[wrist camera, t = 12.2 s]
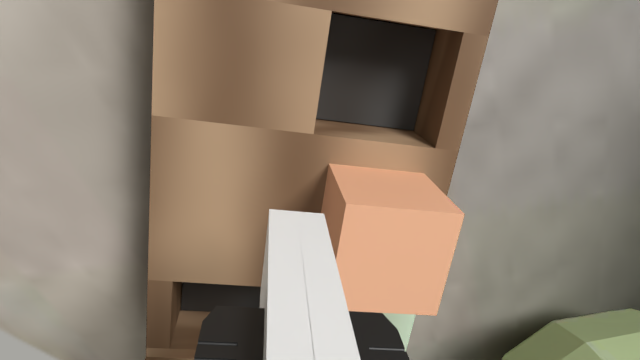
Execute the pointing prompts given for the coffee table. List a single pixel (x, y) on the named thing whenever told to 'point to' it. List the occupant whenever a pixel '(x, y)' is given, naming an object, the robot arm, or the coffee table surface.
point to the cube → (390, 238)
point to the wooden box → (287, 130)
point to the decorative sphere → (584, 338)
